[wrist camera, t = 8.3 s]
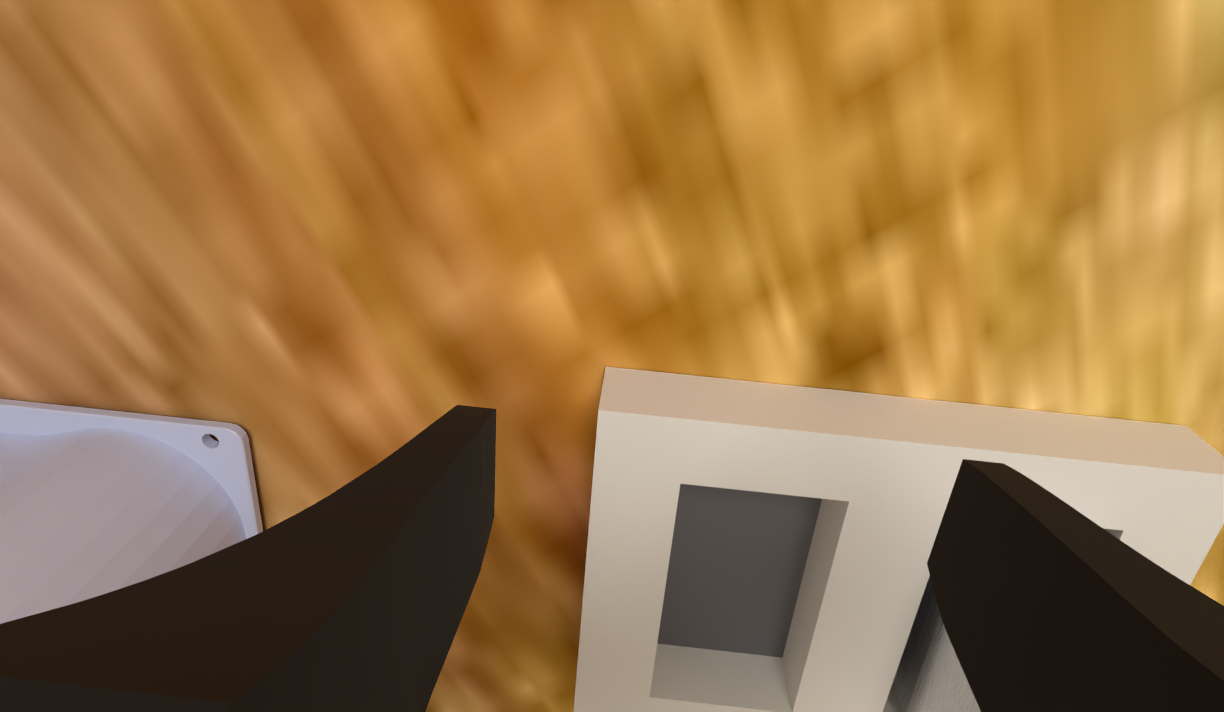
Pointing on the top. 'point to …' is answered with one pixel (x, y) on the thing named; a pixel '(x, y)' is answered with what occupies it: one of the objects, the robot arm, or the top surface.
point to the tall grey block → (931, 666)
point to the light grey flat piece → (824, 531)
